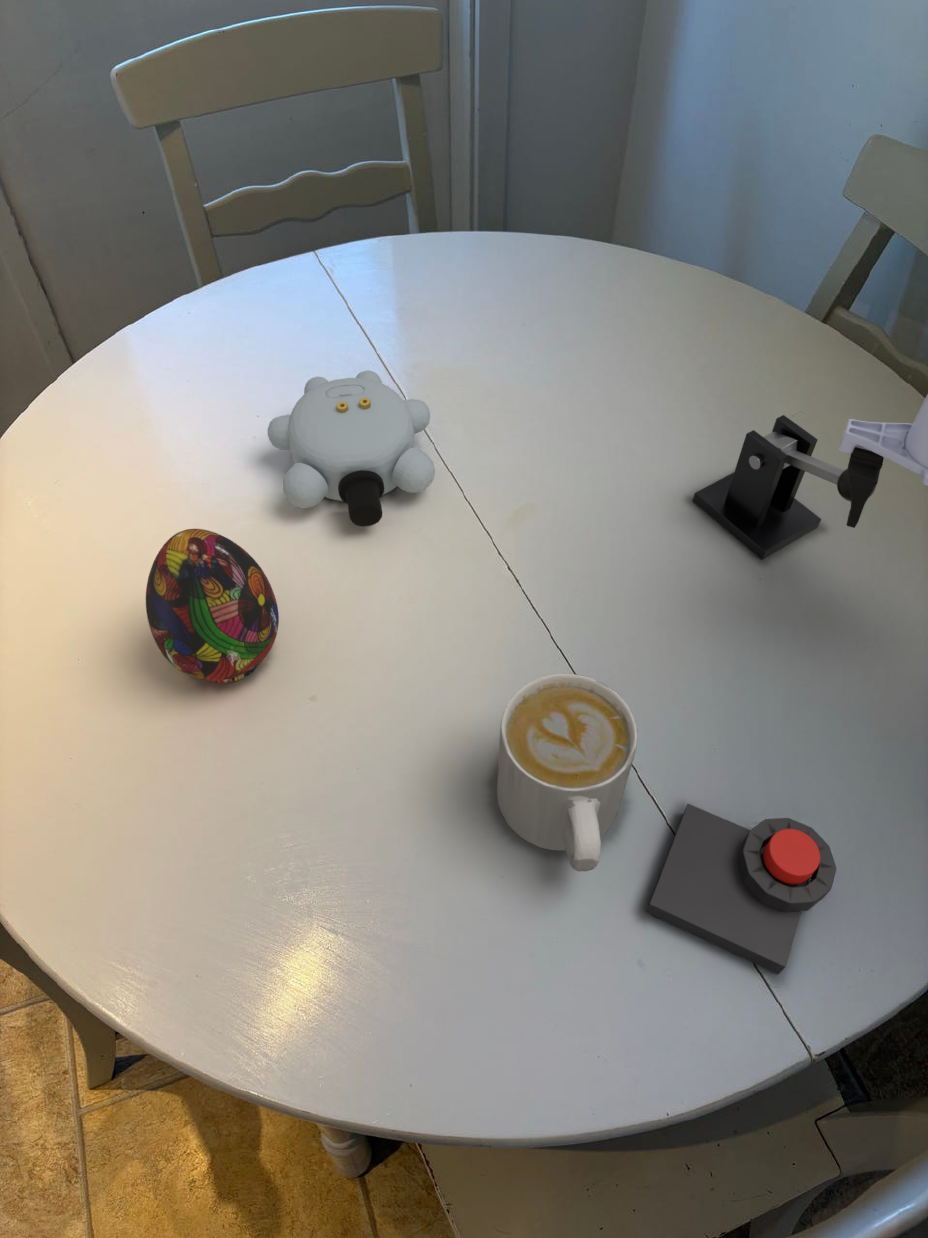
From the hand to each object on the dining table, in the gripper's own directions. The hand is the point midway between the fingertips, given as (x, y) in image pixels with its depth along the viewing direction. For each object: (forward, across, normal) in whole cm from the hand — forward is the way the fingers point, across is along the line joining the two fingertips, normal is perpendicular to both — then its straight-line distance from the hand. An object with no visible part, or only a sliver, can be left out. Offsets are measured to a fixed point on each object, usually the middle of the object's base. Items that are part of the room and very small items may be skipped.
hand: (898, 531), depth 76 cm
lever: (+2, -7, +6) cm, 10 cm away
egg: (+11, -52, -28) cm, 60 cm away
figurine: (+11, -52, -2) cm, 53 cm away
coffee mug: (+11, -19, -31) cm, 38 cm away
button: (+7, -2, -29) cm, 30 cm away
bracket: (+10, -12, +9) cm, 18 cm away
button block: (+10, -5, -32) cm, 34 cm away
